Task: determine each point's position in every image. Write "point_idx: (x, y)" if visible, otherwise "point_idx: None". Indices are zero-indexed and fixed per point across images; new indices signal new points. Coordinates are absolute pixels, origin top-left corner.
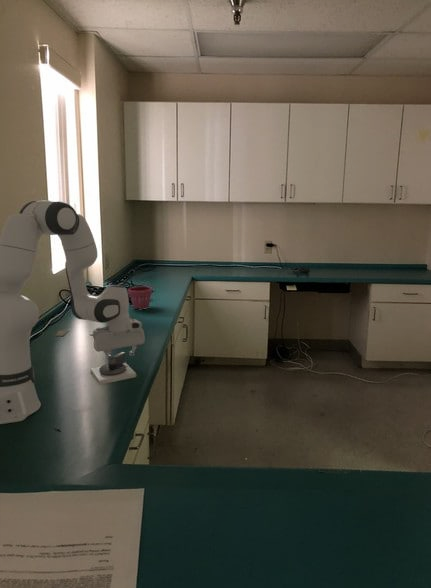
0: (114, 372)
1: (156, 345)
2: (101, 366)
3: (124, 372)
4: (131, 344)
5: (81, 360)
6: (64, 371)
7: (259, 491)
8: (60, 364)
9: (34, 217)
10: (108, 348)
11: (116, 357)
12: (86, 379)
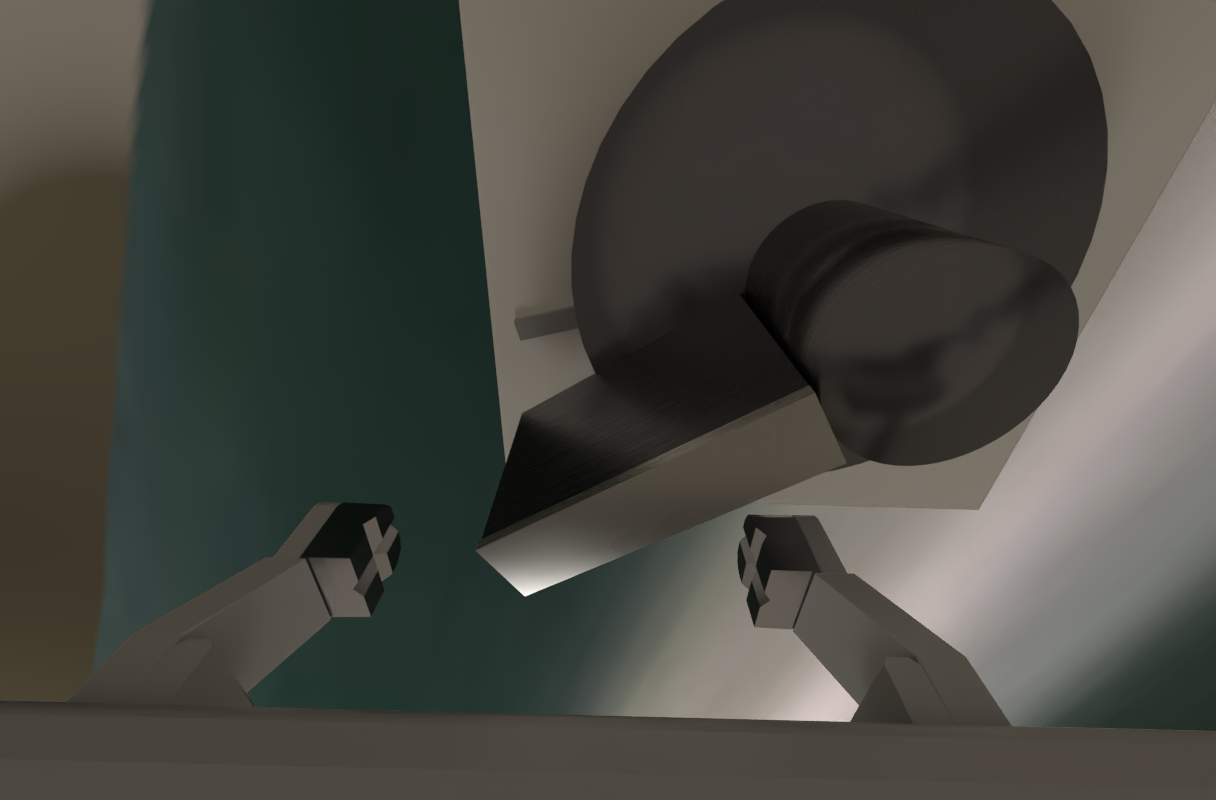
0: None
1: None
2: (835, 499)
3: (662, 35)
4: (155, 757)
5: (832, 714)
6: (1113, 600)
7: None
8: (1009, 716)
9: None
10: (981, 777)
11: (777, 393)
12: (1171, 278)
